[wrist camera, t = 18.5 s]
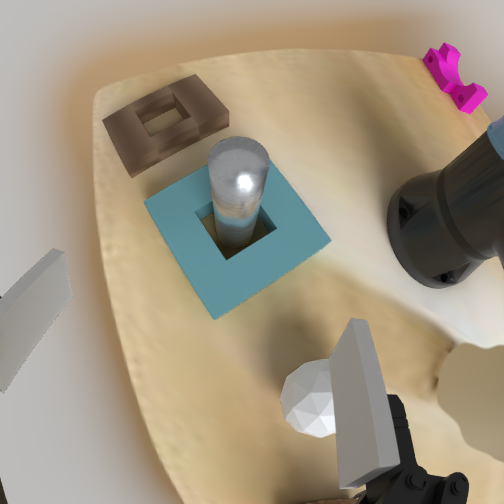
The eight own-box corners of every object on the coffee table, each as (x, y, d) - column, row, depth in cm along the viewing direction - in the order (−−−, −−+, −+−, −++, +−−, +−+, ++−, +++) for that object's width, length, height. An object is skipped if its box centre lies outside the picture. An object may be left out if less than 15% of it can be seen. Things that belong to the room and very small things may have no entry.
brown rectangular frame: (196, 88, 37) (195, 73, 34) (228, 126, 35) (229, 111, 32) (109, 133, 34) (102, 120, 31) (131, 178, 32) (124, 165, 30)
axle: (240, 206, 32) (247, 128, 19) (260, 235, 32) (282, 169, 18) (209, 224, 32) (196, 153, 18) (229, 255, 31) (228, 198, 17)
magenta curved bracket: (422, 60, 46) (435, 38, 38) (441, 67, 46) (455, 47, 39) (451, 108, 42) (470, 86, 35) (469, 114, 42) (488, 94, 35)
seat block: (252, 154, 34) (254, 140, 31) (322, 248, 32) (331, 240, 29) (150, 212, 32) (143, 201, 29) (215, 320, 29) (213, 319, 26)
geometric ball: (311, 400, 30) (321, 457, 23) (261, 371, 28) (263, 436, 21) (364, 364, 28) (386, 421, 21) (318, 328, 26) (337, 393, 19)
